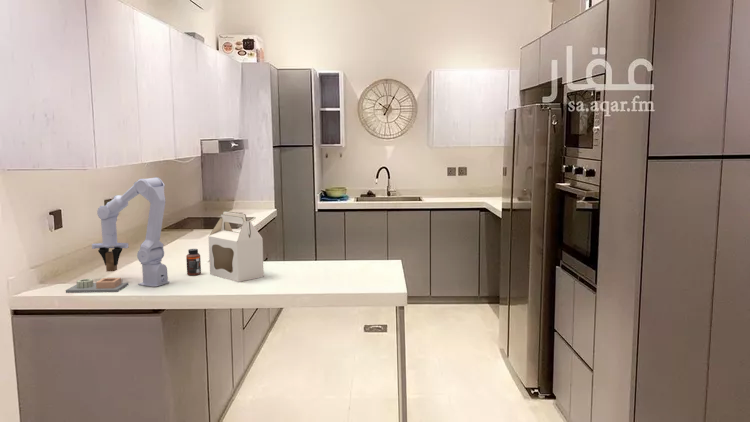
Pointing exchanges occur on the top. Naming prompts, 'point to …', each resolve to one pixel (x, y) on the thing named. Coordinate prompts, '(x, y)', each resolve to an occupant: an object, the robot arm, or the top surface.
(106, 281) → the socket block
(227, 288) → the top surface
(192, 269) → the supplement bottle
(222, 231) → the gable box
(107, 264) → the square bit
